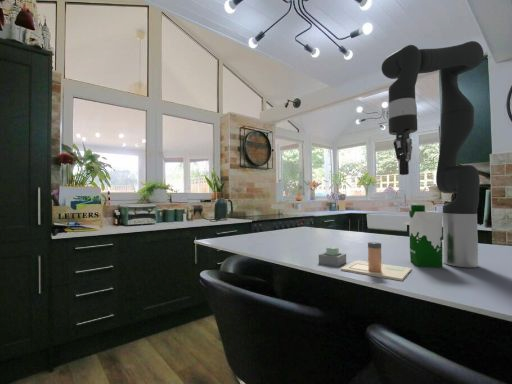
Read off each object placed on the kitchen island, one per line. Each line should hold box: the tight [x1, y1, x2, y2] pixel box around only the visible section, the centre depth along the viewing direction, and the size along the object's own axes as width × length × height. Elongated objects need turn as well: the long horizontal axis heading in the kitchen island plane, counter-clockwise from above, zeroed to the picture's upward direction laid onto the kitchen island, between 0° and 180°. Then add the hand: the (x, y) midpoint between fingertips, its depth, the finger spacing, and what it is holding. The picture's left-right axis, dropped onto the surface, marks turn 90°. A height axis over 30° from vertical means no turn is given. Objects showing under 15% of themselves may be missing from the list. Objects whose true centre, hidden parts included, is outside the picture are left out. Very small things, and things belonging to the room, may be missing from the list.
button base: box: [318, 251, 347, 267], centre depth 92 cm, size 7×7×3 cm
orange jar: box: [367, 241, 382, 272], centre depth 80 cm, size 4×4×8 cm
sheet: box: [340, 259, 413, 282], centre depth 83 cm, size 14×17×1 cm
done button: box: [325, 246, 340, 256], centre depth 93 cm, size 4×4×4 cm
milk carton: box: [408, 204, 443, 268], centre depth 90 cm, size 9×9×20 cm
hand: (404, 174), depth 79 cm, fingers closed
